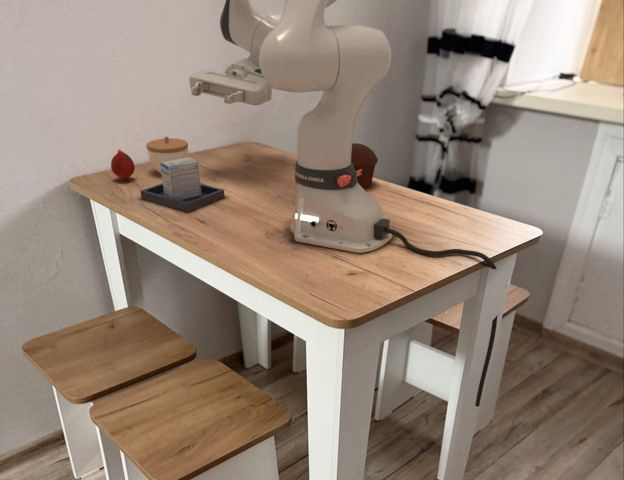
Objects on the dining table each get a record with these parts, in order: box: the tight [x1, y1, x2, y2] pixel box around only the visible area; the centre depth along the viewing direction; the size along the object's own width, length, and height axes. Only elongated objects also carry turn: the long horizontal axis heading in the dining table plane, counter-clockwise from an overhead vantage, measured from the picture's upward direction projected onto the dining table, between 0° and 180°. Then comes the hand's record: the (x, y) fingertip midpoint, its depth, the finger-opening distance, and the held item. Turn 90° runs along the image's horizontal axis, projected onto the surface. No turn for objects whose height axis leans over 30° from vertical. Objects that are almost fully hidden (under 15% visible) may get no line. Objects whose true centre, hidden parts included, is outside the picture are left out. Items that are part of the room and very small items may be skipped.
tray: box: [139, 182, 226, 213], centre depth 145 cm, size 16×13×2 cm
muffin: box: [351, 142, 379, 190], centre depth 153 cm, size 12×11×10 cm
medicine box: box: [160, 156, 201, 201], centre depth 143 cm, size 8×4×9 cm, turn 130°
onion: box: [110, 148, 136, 181], centre depth 154 cm, size 6×6×8 cm
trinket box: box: [145, 136, 189, 176], centre depth 160 cm, size 11×11×9 cm
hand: (209, 96), depth 141 cm, fingers open, 8 cm apart
